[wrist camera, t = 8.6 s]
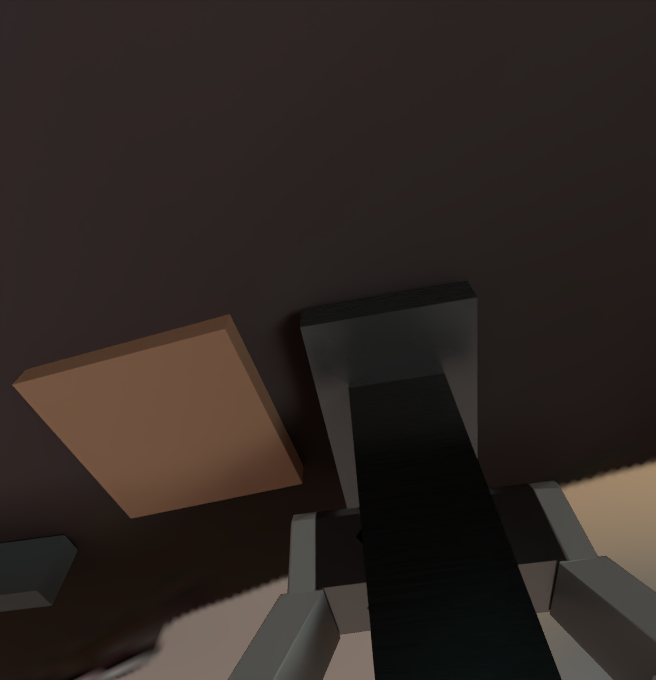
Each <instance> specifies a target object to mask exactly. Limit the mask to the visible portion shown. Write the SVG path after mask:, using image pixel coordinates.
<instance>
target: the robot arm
mask: <svg viewBox="0 0 656 680" xmlns="http://www.w3.org/2000/svg"><path fill="white" fill-rule="evenodd" d="M489 491H490V494H491V496H492V499H493V501H494V504H495V507H496V509H497V512H498V514H499V517H500V520H501V522H502V525H503V528H504V530H505V533H506V535H507V538H508V541H509V543H510V546H511V549H512V551H513V554H514V556H515V559H516V562H517V564H518V567H519V570H520V572H521V575H522V577H523V580H524V583H525V585H526V588H527V590H528V593H529V596H530V598H531V601H532V604H533V606H534V609H535V611H536V613H539V612H550V615H551V616H552V617H553V618H554V619H555V620H556V621H557V622H558V623H559V624H560V625H561V626H562V627H563V628H564V629H565V630H566V631H567V632H568V633H569V634H570V635H571V636H572V637H573V638H574V639H575V640H576V641H577V642H578V644H579V645H580V646H581V647H582V648H583V649H584V650H585V651H586V652H587V653H588V654H589V655H590V656H591V657H592V658H593V659H594V660H595V661H596V662H597V663H598V664H599V665H600V666H601V667H602V668H603V669H604V670H605V671H606V672H607V673H608V674H609V675H610V676H611V678H613V680H656V592H654V591H653V590H652V589H650V588H649V587H648V586H646V585H645V584H644V583H642V582H641V581H639V580H638V579H637V578H635V577H634V576H633V575H631V574H630V573H628V572H627V571H626V570H624V569H623V568H622V567H620V566H619V565H618V564H616V563H615V562H614V561H612V560H611V559H609V558H608V557H607V556H601V557H598V556H597V554H596V552H595V551H594V548H593V546H592V545H591V543H590V541H589V539H588V537H587V536H586V534H585V532H584V530H583V528H582V526H581V525H580V523H579V521H578V519H577V517H576V515H575V514H574V512H573V510H572V508H571V506H570V504H569V503H568V501H567V499H566V497H565V495H564V493H563V492H562V490H561V488H560V486H559V485H558V484H557V483H556V482H555V481H552V480H551V481H544V482H538V483H531V484H527V483H525V484H519V485H512V486H505V487H499V488H492V489H489ZM369 630H371V629H370V618H369V607H368V596H367V585H366V574H365V563H364V552H363V542H362V531H361V520H360V509H359V507H355V508H347V509H338V510H330V511H321V512H311V513H304V514H297V515H293V519H292V522H291V537H290V555H289V574H288V593H287V594H281V595H280V596H279V598H278V599H277V601H276V603H275V604H274V606H273V607H272V609H271V611H270V612H269V614H268V616H267V617H266V619H265V620H264V622H263V624H262V625H261V627H260V628H259V630H258V632H257V633H256V635H255V637H254V638H253V640H252V641H251V643H250V645H249V646H248V648H247V650H246V651H245V653H244V654H243V656H242V658H241V659H240V661H239V663H238V664H237V666H236V667H235V669H234V670H233V672H232V674H231V675H230V677H229V679H228V680H323V677H324V675H325V672H326V670H327V668H328V665H329V663H330V661H331V658H332V656H333V654H334V651H335V649H336V647H337V644H338V642H339V639H340V634H347V633H355V632H362V631H369Z"/></svg>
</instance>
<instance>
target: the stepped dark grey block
mask: <svg viewBox="0 0 656 680" xmlns="http://www.w3.org/2000/svg"><path fill="white" fill-rule="evenodd" d="M300 329H301V333H302V337H303V341H304V345H305V348H306V352H307V356H308V360H309V364H310V368H311V371H312V375H313V379H314V383H315V387H316V391H317V394H318V398H319V402H320V406H321V410H322V414H323V417H324V421H325V425H326V429H327V433H328V437H329V440H330V444H331V448H332V452H333V456H334V460H335V463H336V467H337V471H338V475H339V479H340V483H341V486H342V490H343V494H344V498H345V502H346V506H347V508H355V507H359V509H360V520H361V531H362V542H363V552H364V563H365V574H366V585H367V596H368V607H369V618H370V629H371V640H372V651H373V661H374V673H375V680H561V677H560V675H559V672H558V669H557V667H556V664H555V661H554V659H553V656H552V654H551V651H550V649H549V646H548V643H547V640H546V638H545V635H544V632H543V630H542V627H541V625H540V622H539V619H538V617H537V614H536V611H535V609H534V606H533V604H532V601H531V598H530V596H529V593H528V590H527V588H526V585H525V583H524V580H523V577H522V575H521V572H520V570H519V567H518V564H517V562H516V559H515V556H514V554H513V551H512V549H511V546H510V543H509V541H508V538H507V535H506V533H505V530H504V528H503V525H502V522H501V520H500V517H499V514H498V512H497V509H496V507H495V504H494V501H493V499H492V496H491V494H490V491H489V488H488V486H487V483H486V480H485V478H484V475H483V473H482V470H481V467H480V465H479V462H478V427H477V296H476V294H475V293H474V291H473V290H472V288H471V286H470V285H469V283H468V281H465V282H459V283H453V284H447V285H441V286H436V287H430V288H424V289H418V290H412V291H407V292H401V293H395V294H389V295H384V296H378V297H372V298H366V299H360V300H355V301H349V302H343V303H337V304H332V305H326V306H320V307H314V308H308V309H303V310H301V319H300Z"/></svg>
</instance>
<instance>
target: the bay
mask: <svg viewBox="0 0 656 680" xmlns="http://www.w3.org/2000/svg"><path fill="white" fill-rule="evenodd" d="M77 551H78V549H77V548H76V547H75V546H74V545H73V544H72V543H71V541H70V540H69V539H68V538H67V537H66V536H65V535H60V536H52V537H45V538H37V539H30V540H22V541H15V542H7V543H0V612H3V611H11V610H19V609H28V608H36V607H45V606H52V605H53V603H54V601H55V599H56V597H57V594H58V592H59V590H60V588H61V586H62V584H63V581H64V579H65V577H66V575H67V573H68V571H69V569H70V566H71V564H72V562H73V560H74V558H75V556H76V553H77Z"/></svg>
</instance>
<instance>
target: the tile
mask: <svg viewBox="0 0 656 680" xmlns="http://www.w3.org/2000/svg"><path fill="white" fill-rule="evenodd" d="M12 385H13V386H14V387H15V389H16V390H17V391H18V392H19V393H20V394H21V395H22V397H23V398H24V399H25V400H26V401H27V402H28V403H29V404H30V406H31V407H32V408H33V409H34V410H35V411H36V412H37V413H38V415H39V416H40V417H41V418H42V419H43V420H44V421H45V422H46V424H47V425H48V426H49V427H50V428H51V429H52V430H53V431H54V433H55V434H56V435H57V436H58V437H59V438H60V439H61V440H62V442H63V443H64V444H65V445H66V446H67V447H68V448H69V449H70V451H71V452H72V453H73V454H74V455H75V456H76V457H77V458H78V460H79V461H80V462H81V463H82V464H83V465H84V466H85V468H86V469H87V470H88V471H89V472H90V473H91V474H92V475H93V477H94V478H95V479H96V480H97V481H98V482H99V483H100V484H101V486H102V487H103V488H104V489H105V490H106V491H107V492H108V493H109V495H110V496H111V497H112V498H113V499H114V500H115V501H116V502H117V504H118V505H119V506H120V507H121V508H122V509H123V510H124V511H125V513H126V514H127V515H128V516H129V517H130V518H131V519H132V518H136V517H141V516H146V515H151V514H156V513H161V512H166V511H171V510H176V509H181V508H186V507H191V506H196V505H201V504H205V503H210V502H215V501H220V500H225V499H230V498H235V497H240V496H245V495H250V494H255V493H260V492H265V491H270V490H275V489H279V488H284V487H289V486H294V485H299V484H303V464H302V462H301V460H300V458H299V456H298V454H297V452H296V450H295V448H294V445H293V443H292V441H291V439H290V437H289V435H288V433H287V431H286V429H285V427H284V425H283V423H282V421H281V419H280V417H279V415H278V413H277V410H276V408H275V406H274V404H273V402H272V400H271V398H270V396H269V394H268V392H267V390H266V388H265V386H264V384H263V382H262V380H261V377H260V375H259V373H258V371H257V369H256V367H255V365H254V363H253V361H252V359H251V357H250V355H249V353H248V351H247V349H246V347H245V345H244V342H243V340H242V338H241V336H240V334H239V332H238V330H237V328H236V326H235V324H234V322H233V320H232V318H231V316H230V314H229V315H225V316H221V317H218V318H214V319H210V320H207V321H203V322H199V323H196V324H192V325H188V326H185V327H181V328H177V329H174V330H170V331H166V332H163V333H159V334H155V335H151V336H148V337H144V338H140V339H137V340H133V341H129V342H126V343H122V344H118V345H115V346H111V347H107V348H104V349H100V350H96V351H93V352H89V353H85V354H82V355H78V356H74V357H70V358H67V359H63V360H59V361H56V362H52V363H48V364H45V365H41V366H37V367H34V368H30V369H26V370H25V371H24V372H23V373H22V374H21V375H20V377H19V378H18V379H17V380H16V381H15V382H14V383H13V384H12Z"/></svg>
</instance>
